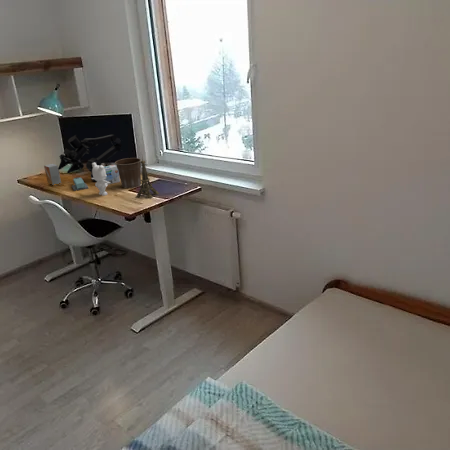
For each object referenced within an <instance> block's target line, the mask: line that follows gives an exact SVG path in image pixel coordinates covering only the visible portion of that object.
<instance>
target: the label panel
mask: <svg viewBox="0 0 450 450" xmlns="http://www.w3.org/2000/svg"><path fill="white" fill-rule="evenodd" d="M84 183H85V187H84V188H78V189H77V187H76V186H75V184H73V185H71V188H72V190H73V191H74V192H76V190H77V191H81V190H88V189H89V188H90V187H89V186H88V183H86V182H84Z"/></svg>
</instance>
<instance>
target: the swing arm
mask: <svg viewBox="0 0 450 450" xmlns="http://www.w3.org/2000/svg"><path fill="white" fill-rule="evenodd" d="M85 183H86V182H84V180H83V178H82V177H80V176H77V177H74V178H73V185H75V186H76V187H77V189H78V188H84V187H85Z"/></svg>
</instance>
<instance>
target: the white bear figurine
mask: <svg viewBox="0 0 450 450" xmlns="http://www.w3.org/2000/svg"><path fill="white" fill-rule="evenodd" d="M92 167H93V169H92V174H93V177H94V178H91V177H90V180H91V179H94V180H96V181H97V182H95V184H94V185H95V187H96V188H97V190H98V191H99V192H98V195H100V196H107V195H108V192H107V191H106V188H107V187H108V185H107V183H111V182H107V181H106V180H104V179H106V176H107V175H106V171H105V169H104V167H105V166H104V165H102V164H101V165H100V166H99V165H97V164H96V163H95V162H94V163H92Z"/></svg>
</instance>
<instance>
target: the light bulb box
mask: <svg viewBox="0 0 450 450" xmlns="http://www.w3.org/2000/svg"><path fill="white" fill-rule="evenodd" d="M104 169H105V171H106V175H107V176H106V179H104V180H106V181H107V182H111V183H107V186H108V185H112V184H116V183H121V180H120V176H119V172H118V169H117V166H116V164H110V165H107V166H104Z"/></svg>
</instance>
